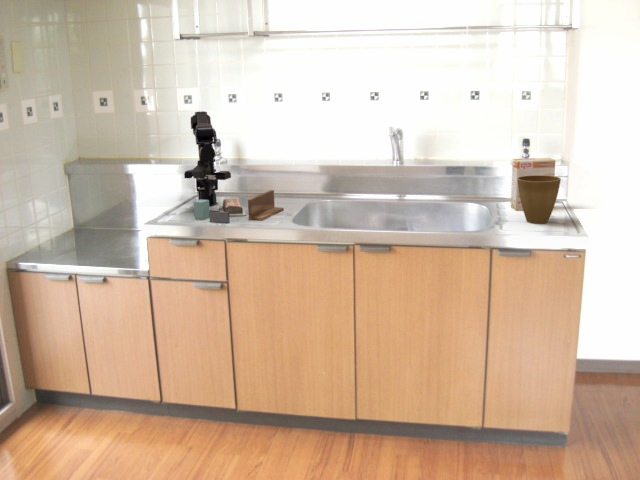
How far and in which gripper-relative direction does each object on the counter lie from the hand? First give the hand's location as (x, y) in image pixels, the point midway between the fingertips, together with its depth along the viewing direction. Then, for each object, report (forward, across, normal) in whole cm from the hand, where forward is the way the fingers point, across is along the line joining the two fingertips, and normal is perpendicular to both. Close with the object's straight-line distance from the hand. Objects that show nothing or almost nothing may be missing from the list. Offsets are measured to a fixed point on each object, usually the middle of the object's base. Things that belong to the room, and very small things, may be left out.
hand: (208, 195), depth 290 cm
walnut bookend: (+6, +26, -1) cm, 27 cm away
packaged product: (+7, +11, 0) cm, 13 cm away
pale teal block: (+6, +5, -14) cm, 16 cm away
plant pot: (+6, +128, +15) cm, 129 cm away
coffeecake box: (+6, +124, +38) cm, 129 cm away
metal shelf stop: (+6, +15, -18) cm, 24 cm away
